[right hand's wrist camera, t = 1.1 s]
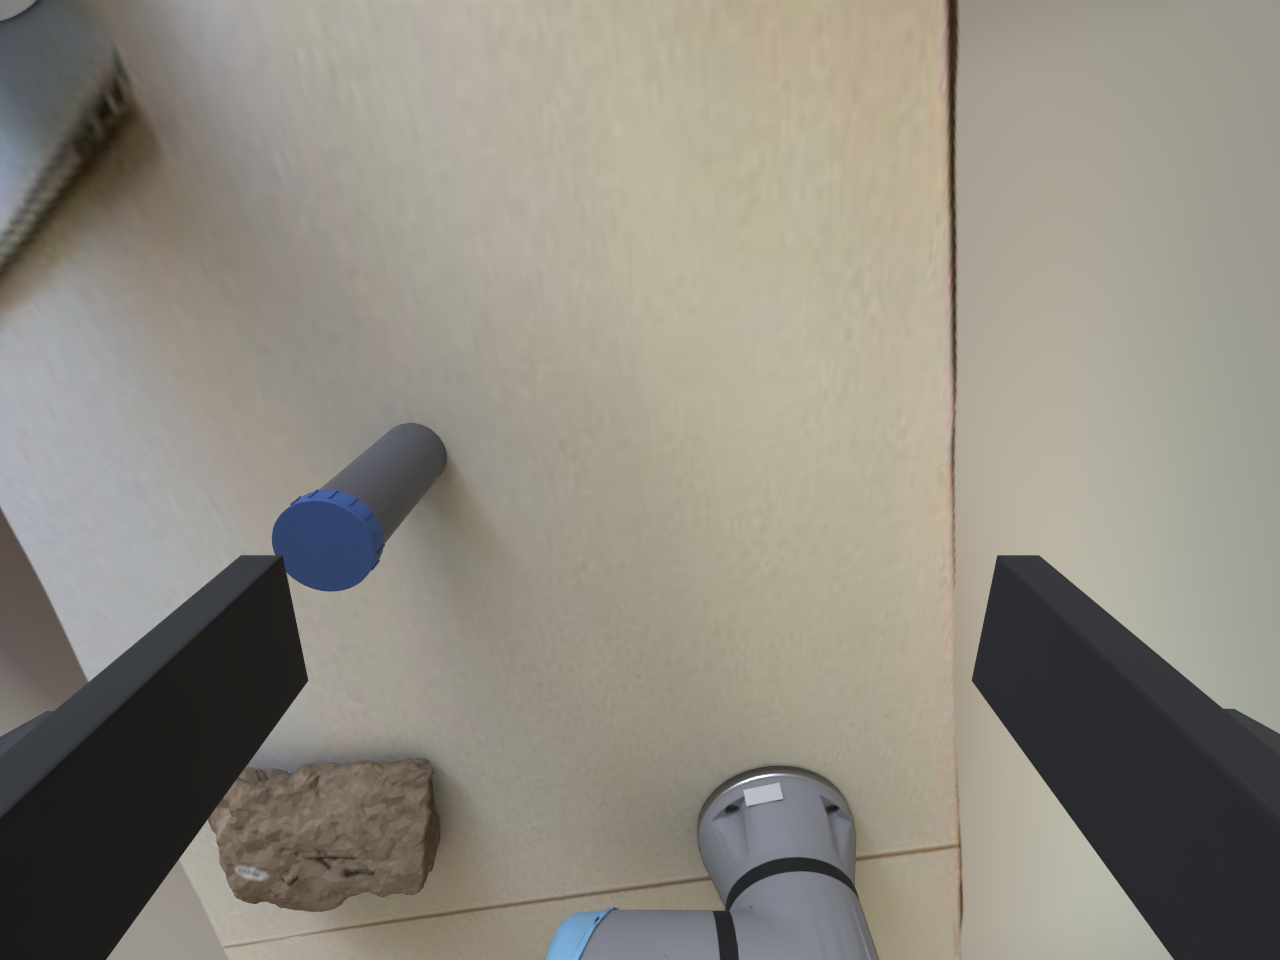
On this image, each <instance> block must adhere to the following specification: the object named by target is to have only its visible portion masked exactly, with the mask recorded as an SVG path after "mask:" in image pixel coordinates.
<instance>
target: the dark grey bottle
mask: <svg viewBox="0 0 1280 960" xmlns="http://www.w3.org/2000/svg"><path fill="white" fill-rule="evenodd" d="M445 463H446V451H445V448H444V445H443V443H442V441H441V440H440V438H439V437H438V436H437V435H436V434H435V433H434V432H433V431H432V430H430V429H429V428H427V427H425V426H422V425H419V424H413V423H408V424H402V425H399V426H397V427H395V428H393V429H392V430H390V431H389V432H388V433H387V434H386V435H384V436H383V437H382V438H381V439H380V440H378V441H377V442H376V443H375V444H374V445H372V446H371V447H370V448H369V449H368V450H366V451H365V452H364V453H363V454H362V455H360V456H359V457H358V458H357V459H356V460H354V461H353V462H352V463H351V464H350V465H348V466H347V467H346V468H345V469H344V470H342V471H341V472H340V473H339V474H337V475H336V476H335V477H334V478H333V479H331V480H330V481H329V482H328V483H327V484H325V485H324V486H323V487H322V488H321V489H319V491H320V490H335V491H336V490H338V491H340V492H344V493H347V494H349V495H352V496H354V497H357V498H358V499H359V500H361V501H362V502H363V503H365V504H366V505H367V506H368V507H369V508H370V509H371V510H373V513H374V514H375V515H376V517H377V518H378V520H379V522H380V524H381V527H383V529H382V530H383V535H384V544H385V543H386V542H387V540H388V539H389V538H390V537H391V535H392V534H393V533H394V531H395V530H396V529H397V528H398V526H399V525H400V524H401V523H402V521H403V520H404V519H405V518H406V516H407V515H408V514H409V513H410V511H411V510H412V509H413V508H414V506H415V505H416V504H417V503H418V501H419V500H420V499H421V498H422V496H423V495H424V494H425V493H426V491H427V490H428V489H429V488H430V486H431V485H432V484H433V482H434V481H435V480H436V479H437V477H438V476H439V475H440V474H441V472H442V471H443V469H444V467H445Z"/></svg>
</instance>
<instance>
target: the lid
mask: <svg viewBox="0 0 1280 960" xmlns="http://www.w3.org/2000/svg"><path fill="white" fill-rule="evenodd" d="M382 529H383V527H381V524H380V522H379V520H378V518H377V517H376V515H375V514H374V513H373V510H371V509H370V508H369V507H368V506H367V505H366V504H365V503H363V502H362V501H361V500H359V499H358V498H357V497H354V496H352V495H349V494H347V493H344V492H340V491H338V490H336V491H335V490H320V491H319V490H316V491H314V492H311V493H308V494H306V495H304V496H303V497H301V496H300V497H299V498H297V499H296V500H295V501H294V502H292V503H291V506H290V507H288V508H287V509H286V510H285V511H284V512H283V513H282V514H281V515H280V516H279V517H278V519H277V521H276V523H275V525H274V528H273V533H272V545H273V549H274V553H275V555H283V560H284V565H285V569H286V572H287V573H288V574H289V575H290V576H291V577H293V578H294V579H295V580H297V581H298V582H300V583H302V584H303V585H305V586H308V587H310V588H313V589H317V590H322V591H340V590H345V589H348V588H351V587H353V586H355V585H357V584H358V583H360V582H361V581H362V580H363V579H364V578H365V577H366V576H367V575H368V573H369V572H370V571H371V570H373V569H374V568H375V566H376V565H377V564H378V563H379V561H380V560H379V558H380V556H381V554H382V551H383V548H384V546H385V544H384V535H383V530H382Z"/></svg>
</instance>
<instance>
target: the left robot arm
mask: <svg viewBox="0 0 1280 960" xmlns="http://www.w3.org/2000/svg"><path fill="white" fill-rule="evenodd" d="M36 1H37V0H0V21H3V20H6V19H9V18H12V17H14V16H16V15H18V14H20V13H21V12H23V11H25V10H26V9H27V8H29V7H30V6H31V5H32V4H33V3H35V2H36Z"/></svg>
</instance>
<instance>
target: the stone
mask: <svg viewBox="0 0 1280 960" xmlns="http://www.w3.org/2000/svg"><path fill="white" fill-rule="evenodd" d="M432 774H433V769H432V766H431V764H430V763H429V761H428V760H427V759H420V760H409V759H408V760H406V761H399V762H393V763H388V764H383V763H375V762H372V761H368V760H366V761H361V762H353V763H351V764H347V765H338V764H335V763H330V764H314V763H313V764H307V765H301V766H300V767H299V769H298V771H297V772H296V773H295V774H289V773H288V772H285V771H282V770H279V769H268V770H262V769H259V768H258V769H256V768H250V767H247V768H244V770H243V771H242V773H241V774H240V775H239V777H238V778H237V780H236V781H235V782H234V784H233V785H232V786H231V788H230V789H229V791H228V792H227V793H226V795H225V796H224V797H223V799H222V800H221V802H220V803H219V804H218V806H217V807H216V808H215V810H214V811H213V813H212V814H211V815H210V817H209V818H208V821H209V824H210V826H211V829H212V831H214V832H215V833H216V835H217V839H216V841H217V844H218V846H219V854H220V865H221V867H222V869H223V870H224V872H225V873H226V877H227V881H228V884H229V886H230V888H231V889H232V891H233V892H234V895H235V897H236V898H238V899H240V900H242V901H244V902H248V903H253V904H257V903H259V902H264V901H267V902H269V903H272V904H276V905H277V906H278V907H280V908H287V909H292V910H304V911H311V912H323V911H327V910H331V909H334V908H336V907H338V906H339V905H341V904H342V903H343V901H344V900H345V899H347V898H348V897H350V896H354V895H358V894H360V893H362V892H367V891H368V892H371V893H373V894H377V895H378V896H380V897H385V896H387V895H390V894H397V893H403V894H406V895H414V894H416V893H418V892H420V890H421V889H422V888H423V887H424V883H425V882H426V879H427V876H428V872H430V871H432V869H433V865H434V860H435V855H436V850H437V847H438V843H439V841H440V828H439V819H438V817H437V814H436V813H435V810H434V808H433V791H432V781H431V777H432Z"/></svg>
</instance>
